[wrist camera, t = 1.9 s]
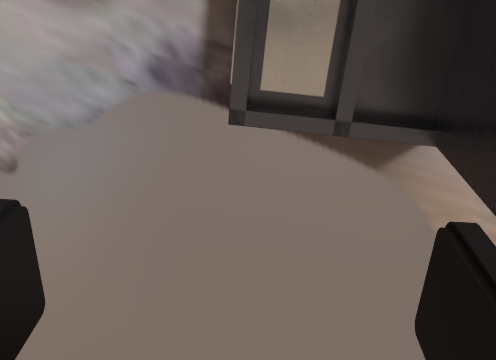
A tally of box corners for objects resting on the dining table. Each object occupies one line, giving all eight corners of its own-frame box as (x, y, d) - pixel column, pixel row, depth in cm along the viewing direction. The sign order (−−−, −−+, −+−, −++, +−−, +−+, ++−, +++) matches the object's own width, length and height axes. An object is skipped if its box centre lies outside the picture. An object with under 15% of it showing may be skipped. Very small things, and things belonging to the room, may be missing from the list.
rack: (245, -75, 27) (229, -92, 16) (493, -48, 27) (644, -46, 16) (229, 111, 31) (209, 195, 21) (439, 134, 32) (527, 229, 21)
